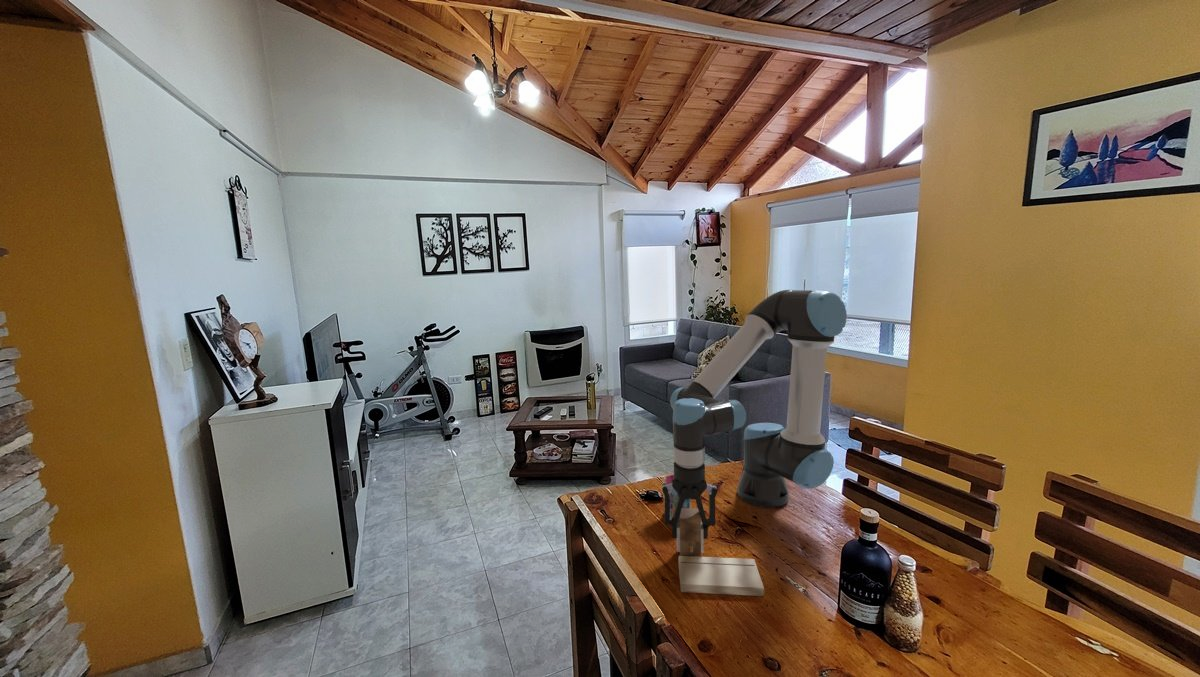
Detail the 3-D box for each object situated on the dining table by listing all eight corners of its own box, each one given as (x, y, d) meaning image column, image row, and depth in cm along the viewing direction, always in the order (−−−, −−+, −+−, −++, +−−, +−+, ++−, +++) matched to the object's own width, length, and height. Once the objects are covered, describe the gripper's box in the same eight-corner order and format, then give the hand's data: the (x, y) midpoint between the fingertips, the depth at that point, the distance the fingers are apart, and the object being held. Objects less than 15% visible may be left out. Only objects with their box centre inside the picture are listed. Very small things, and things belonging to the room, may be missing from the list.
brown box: (699, 548, 116) (698, 508, 114) (702, 571, 107) (702, 528, 105) (679, 547, 117) (678, 507, 115) (681, 570, 108) (680, 527, 106)
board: (753, 566, 109) (754, 558, 108) (763, 596, 99) (764, 587, 98) (678, 563, 111) (678, 555, 110) (680, 591, 101) (680, 583, 101)
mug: (682, 528, 126) (682, 492, 124) (656, 516, 132) (655, 482, 131) (705, 511, 134) (705, 477, 132) (679, 500, 140) (679, 468, 139)
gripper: (724, 456, 113) (724, 541, 116) (652, 455, 115) (654, 539, 118) (729, 469, 105) (728, 560, 109) (652, 468, 108) (653, 557, 111)
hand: (689, 549), depth 114 cm, fingers closed on brown box, 5 cm apart
